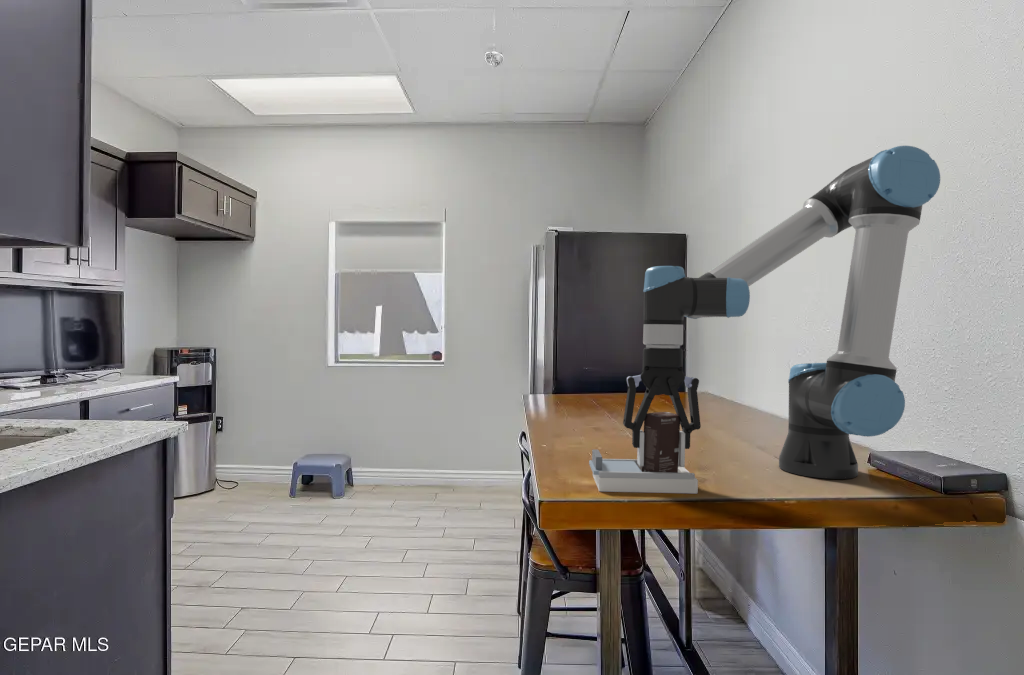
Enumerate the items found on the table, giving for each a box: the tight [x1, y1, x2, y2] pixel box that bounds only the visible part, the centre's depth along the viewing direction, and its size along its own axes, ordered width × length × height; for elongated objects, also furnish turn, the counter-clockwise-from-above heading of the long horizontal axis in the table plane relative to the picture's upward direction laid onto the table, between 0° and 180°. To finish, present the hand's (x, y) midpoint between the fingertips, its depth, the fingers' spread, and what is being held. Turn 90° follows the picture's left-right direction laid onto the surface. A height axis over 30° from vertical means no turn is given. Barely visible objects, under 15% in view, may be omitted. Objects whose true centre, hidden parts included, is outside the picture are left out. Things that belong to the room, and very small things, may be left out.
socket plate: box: [592, 458, 699, 494], centre depth 114 cm, size 18×12×4 cm, turn 88°
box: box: [642, 411, 681, 473], centre depth 114 cm, size 6×4×12 cm
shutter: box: [588, 449, 642, 475], centre depth 115 cm, size 9×9×3 cm
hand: (660, 464), depth 114 cm, fingers closed on box, 7 cm apart
